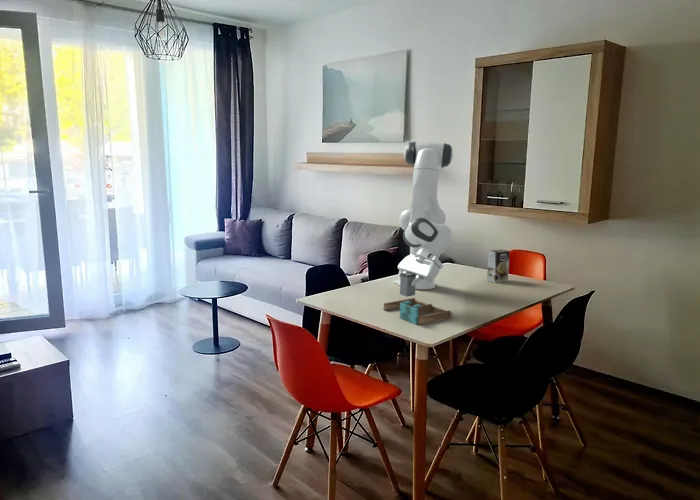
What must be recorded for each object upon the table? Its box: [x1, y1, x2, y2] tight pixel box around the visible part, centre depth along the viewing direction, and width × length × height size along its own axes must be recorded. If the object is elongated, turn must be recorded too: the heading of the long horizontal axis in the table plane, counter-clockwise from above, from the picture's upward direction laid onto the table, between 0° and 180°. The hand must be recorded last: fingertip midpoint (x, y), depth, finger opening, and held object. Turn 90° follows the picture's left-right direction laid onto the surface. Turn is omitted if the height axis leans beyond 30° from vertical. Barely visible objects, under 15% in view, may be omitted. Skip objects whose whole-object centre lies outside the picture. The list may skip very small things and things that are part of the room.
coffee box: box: [486, 249, 511, 284], centre depth 269 cm, size 9×6×16 cm
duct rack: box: [383, 297, 453, 326], centre depth 211 cm, size 23×18×7 cm
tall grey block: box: [399, 272, 416, 298], centre depth 215 cm, size 4×4×9 cm
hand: (406, 283), depth 214 cm, fingers closed on tall grey block, 4 cm apart
